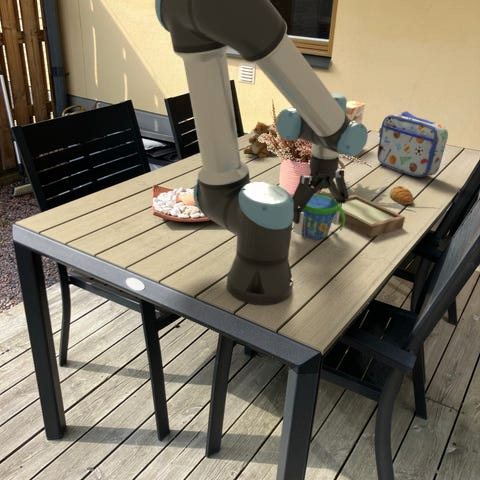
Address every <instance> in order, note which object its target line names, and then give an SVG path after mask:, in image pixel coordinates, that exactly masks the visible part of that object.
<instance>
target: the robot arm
mask: <svg viewBox="0 0 480 480" xmlns="http://www.w3.org/2000/svg"><path fill="white" fill-rule="evenodd" d="M154 9H155V14H156V18H157V20H158V22H159V24H160V25H161V27H163V28H164V30H165V31H166V32H169V33H170V34H169V35H170V39H171V44H172V50H173V53H174V54H176V55H177V56H179V58H181V59H182V60H183V61H182V62H183V66H184V70H185V76H186V80H187V83H186V84H187V88H188V92H189V98H190V103H191V109H192V113H193V120H194V125H195V132H196V136H197V141H198V147H199V152H200V159H201V162H202V163H201V164H202V167H201V168H200V169H199V171H198V172H197V180H196V184H195V185H194V187H193V192H192V194H193V195H192V196H193V201H194V204H195V206H196V208H197V210H199V212H201V214H203V215H204V217H206V218H207V219H209V220H211V222H212V221H213V222H214V223H216V224H217V225H219V226H220V227H222V228H223V229H225V230H227V231H228V232H229V233H232V234H233V235H235V236H236V249H235V250H236V251H235V257H234V260H233V261H232V265H231V266H230V268H229V271H228V272H227V275H226V288H227V291H228V292H229V293H230V294H231V296H232V297H234V298H236V299H238V300H240V301H242V302H245V303H248V304H253V305H259V306H260V305H263V306H264V305H274V304H279V303H281V302H284V301H285V300H287V299H288V298H290V296H291V295H292V293H293V287H294V279H293V276H292V270H291V266H290V261H289V255H290V252H289V251H290V246H291V239H292V238H291V237H292V232H293V233H295V234H296V235H299V236H301V235H303V234H302V226H303V217H304V213H303V212H302V211H303V209H304V208H305V206H306V205H307V203H308V202H309V201H310V199H311V198H312V196H313V195H316V194H317V193H318V192H319V191H322V190H326V189H327V190H329V192H330V194H331V196H332V197H333V199H335V200H336V201H337V203H338V205H339V206H340V207H342V203H343V204H344V203H345V202H346V200H347V199H348V198H349V196H350V195H349V191H348V189H347V184H346V180H345V170H344V169H341V168H339V164H340V163H339V161H340V157H339V156H340V155H345V156H348V157H355V156H357V155H359V154H360V153H361V152H362V151H363V149H364V147H366V144H367V142H368V139H369V138H368V136H369V133H368V129H367V127H366V126H365V125H364V124H363V123H359V122H357V121H352V120H351V119H349V117H348V116H347V115H346V105H347V100H348V99H347V98H346V96H344V95H343V94H339V93H332V92H330V91H329V89H328V88H327V87H326V85H325V84H324V83H323V81H322V80H321V79H320V77H319V75H318V74H317V73H316V71H315V70H314V69H313V68H312V67H311V65H310V64H309V62H308V61H307V60H306V58H305V57H304V56H303V54H302V53H301V52H300V50H299V48H298V47H297V46H296V45H295V43H294V42H293V41H292V40H291V38H290V36H289V35H288V34H287V30H288V26H287V23H286V21H285V19H284V18H283V17H282V15H281V14H280V13H279V11H278V10H277V8H276V7H275V6H274V5H273V4H272V2H271V1H270V0H154ZM229 49H232V50H234V51H235V52H237V54H239V55H240V56H241V58H242V59H243V60H244V61H246V62H248V63H251V64H252V63H253V64H255V65H256V66H257V67H258V68H259V70H260V71H261V72H262V73H263V74H264V75H265V76H266V78H267V79H268V80H269V81H270V82H271V84H272V85H273V86H274V87H275V89H277V90H278V91H279V93H280V94H281V95H282V96H283V98H284V99H285V100H286V101H287V102H288V103H289V104H290V105H291V107H289V108H284V109H281V111H279V113H278V115H277V117H276V124H275V125H276V131H278V133H279V137H280V138H281V139H283V140H284V141H296V140H302V141H303V142H304V141H305V142H307V143H310V144H311V148H310V153H311V154H310V158H309V169H310V173H309V175H304V174H301V175H300V177H299V182H298V185H297V187H296V189H295V191H294V193H293V195H291V194H290V193H289V192H288V191H287V190H286V189H285V188H283V187H281V186H279V185H278V184H277V185H276V184H274V183H271V184H269V183H268V182H263V181H255V182H251V178H250V169H249V166H248V165H247V163H245V162H243V161H242V160H241V154H240V146H239V145H240V144H239V139H238V133H237V123H236V116H235V108H234V102H233V95H232V89H231V80H230V75H229V72H230V71H229V66H228V59H227V58H228V57H227V52H228V51H229ZM334 179H335V181H334ZM345 199H346V200H345ZM339 214H340V212H339V211H336V214H335V216H334V218H333V221H332V224H333V225H335V226H337V225H339V221H338V220H339Z"/></svg>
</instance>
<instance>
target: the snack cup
mask: <svg viewBox="0 0 480 480" xmlns="http://www.w3.org/2000/svg"><path fill="white" fill-rule="evenodd" d="M336 211H339V212H340V214H341V216H342V219H343V222H341V226H340V228H339V230H340V231H342V230H343V229H344V225H345V224H344V223H345V214H344V211H343V209H342V208H341V207H340V206H339V205H338V203H337V201H336V200H334V198H332V197H329V196H327V195H322V194H314V195H313V196H312V198H311V199H310V201H309V202H308V203H307V205H306V206H305V208H304V209H303V211H302V212H303V213H304V217H303V226H302V235H303V236H304V237H305V238H308V239H312V240H313V239H315V240H320V239H321V240H322V239H325V238H327V237H328V235H329V232H330V230H331V227H332V224H333V223H332V221H333V218H334V216H335V214H336Z"/></svg>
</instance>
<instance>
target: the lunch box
mask: <svg viewBox="0 0 480 480" xmlns="http://www.w3.org/2000/svg"><path fill="white" fill-rule="evenodd" d="M380 126H381V127H380V128H379V130H378V133H379V136H378V137H379V141H378V142H379V143H378V148H377V156H376V157H377V160H378V162H379V163H380V164H381V165H383V166H384V167H386V168H389V169H392V170H394V171H397V172H399V173H401V174H406V175H409V176H413V177H416V178H424V177H427V176H434V175H436V174H437V173H438V172H439V170H440V167H441V163H442V160H443V156H444V153H445V148H446V144H447V142H448V138H449V133H448V130H447V128H446V127H445V126H443V125H441V124H439V123H437V122H433V121H429V120H427V119H425V118H421V117H417V116H415V115H413V114H411V112H409V111H403V112H401V114H389V115H387V116H386V117H385V118H384V119H383V121H382V123H381V125H380Z"/></svg>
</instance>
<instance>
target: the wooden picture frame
mask: <svg viewBox="0 0 480 480" xmlns="http://www.w3.org/2000/svg"><path fill="white" fill-rule="evenodd" d="M333 199H334V198H333ZM334 200H335V199H334ZM345 200H346V199H345ZM341 208H342V209H343V211H344V214H345V223H344V225H345V226H347V227H349V228H352V229H353V230H355V231H356V232H358V233H361V234H362V235H364V236H366V237H368V238H373V237H377V236H380V235H383V234H386V233H389V232H394V231H397V230H400V229H403V227H404V223H405V219H406V217H405V216H404V215H401V214H399V213H397V212H395V211H392V210H390V209H389V208H386V207H384V206H382V205H380V204H378V203H376V202H373V201H371V200H369V199H367V198H364V197H362V196H360V195H358V194H353V195H349V198H348V199H347V200H346V202H345V203H344V204H343V203H342V207H341ZM338 222H340V223H342V222H343V219H342V216H341V214H339V220H338Z"/></svg>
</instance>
